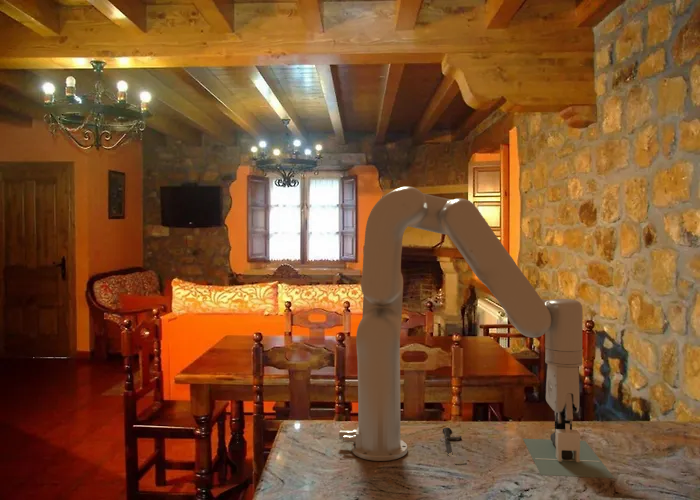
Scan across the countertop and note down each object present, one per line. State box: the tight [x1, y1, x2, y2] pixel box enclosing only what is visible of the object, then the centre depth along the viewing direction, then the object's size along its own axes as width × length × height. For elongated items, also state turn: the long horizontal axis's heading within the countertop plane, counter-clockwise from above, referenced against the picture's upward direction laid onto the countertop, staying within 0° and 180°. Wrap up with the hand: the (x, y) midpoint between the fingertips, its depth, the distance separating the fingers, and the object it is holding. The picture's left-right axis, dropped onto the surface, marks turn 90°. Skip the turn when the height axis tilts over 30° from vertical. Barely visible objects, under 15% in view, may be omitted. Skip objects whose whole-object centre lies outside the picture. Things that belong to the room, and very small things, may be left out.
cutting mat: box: [522, 438, 615, 479], centre depth 121 cm, size 14×20×1 cm
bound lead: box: [549, 432, 573, 460], centre depth 123 cm, size 2×10×2 cm, turn 173°
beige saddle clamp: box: [554, 423, 581, 462], centre depth 118 cm, size 4×2×8 cm, turn 83°
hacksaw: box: [442, 427, 468, 466], centre depth 127 cm, size 24×10×2 cm, turn 174°
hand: (563, 440), depth 122 cm, fingers closed
